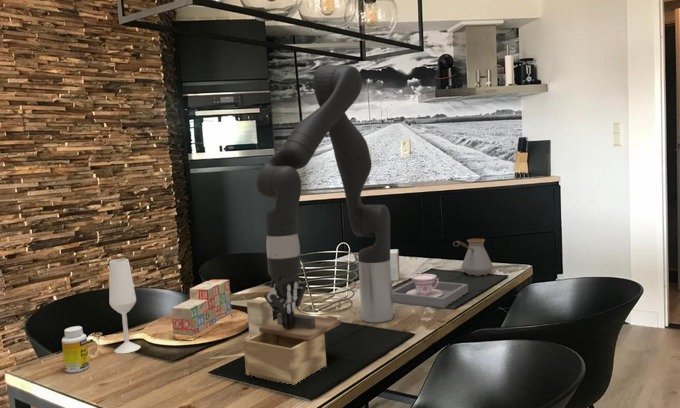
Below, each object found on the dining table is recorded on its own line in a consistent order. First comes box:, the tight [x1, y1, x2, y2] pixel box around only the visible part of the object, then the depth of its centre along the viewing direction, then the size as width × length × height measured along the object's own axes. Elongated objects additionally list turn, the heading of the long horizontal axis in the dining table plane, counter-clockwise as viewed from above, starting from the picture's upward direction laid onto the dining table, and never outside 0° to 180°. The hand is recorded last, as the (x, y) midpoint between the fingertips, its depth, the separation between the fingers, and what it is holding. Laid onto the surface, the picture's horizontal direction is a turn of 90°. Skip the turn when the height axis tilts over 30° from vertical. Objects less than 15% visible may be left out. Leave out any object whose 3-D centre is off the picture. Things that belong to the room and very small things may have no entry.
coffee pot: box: [452, 238, 494, 277], centre depth 213 cm, size 21×12×15 cm, turn 140°
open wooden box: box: [243, 332, 327, 386], centre depth 133 cm, size 12×14×8 cm
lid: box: [259, 312, 342, 340], centre depth 138 cm, size 14×15×3 cm
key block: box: [246, 296, 274, 338], centre depth 151 cm, size 4×4×12 cm
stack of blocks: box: [171, 279, 233, 336], centre depth 168 cm, size 21×6×12 cm, turn 161°
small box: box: [390, 248, 401, 282], centre depth 217 cm, size 8×6×10 cm
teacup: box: [406, 273, 443, 297], centre depth 189 cm, size 12×12×6 cm
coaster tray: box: [393, 279, 469, 309], centre depth 188 cm, size 19×19×3 cm
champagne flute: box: [108, 258, 141, 354], centre depth 154 cm, size 7×7×24 cm
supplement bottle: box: [61, 325, 90, 374], centre depth 141 cm, size 6×6×10 cm
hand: (288, 327), depth 134 cm, fingers closed
